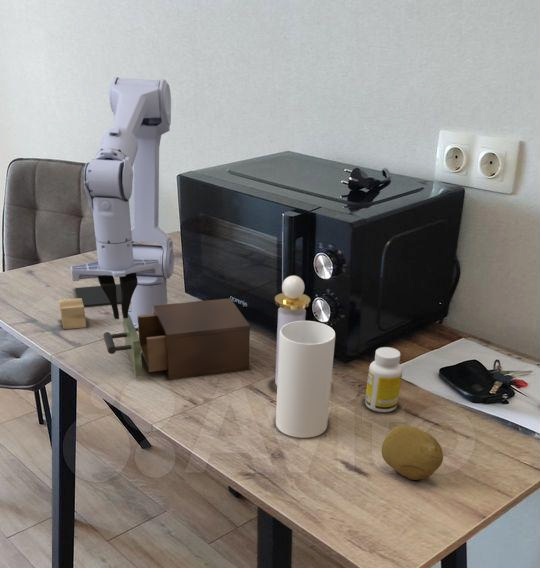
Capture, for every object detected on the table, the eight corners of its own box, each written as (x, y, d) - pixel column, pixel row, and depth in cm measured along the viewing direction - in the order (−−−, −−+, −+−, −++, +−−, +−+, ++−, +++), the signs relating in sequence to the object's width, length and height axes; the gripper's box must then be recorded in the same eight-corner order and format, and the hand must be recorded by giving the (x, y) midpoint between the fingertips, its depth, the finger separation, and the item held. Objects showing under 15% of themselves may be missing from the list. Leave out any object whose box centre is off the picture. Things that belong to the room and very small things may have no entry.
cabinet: (169, 379, 123) (167, 334, 118) (155, 348, 133) (153, 305, 128) (249, 369, 127) (250, 325, 122) (230, 339, 137) (230, 298, 132)
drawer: (112, 380, 120) (108, 344, 116) (103, 350, 129) (100, 316, 125) (211, 367, 125) (211, 333, 121) (196, 340, 134) (195, 307, 130)
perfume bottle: (311, 389, 122) (319, 278, 111) (283, 397, 119) (289, 285, 108) (291, 375, 125) (297, 267, 114) (264, 383, 123) (268, 273, 112)
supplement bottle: (403, 405, 118) (411, 352, 113) (384, 416, 115) (392, 363, 109) (377, 393, 121) (384, 341, 116) (358, 404, 118) (364, 352, 112)
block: (61, 320, 142) (58, 300, 139) (84, 318, 143) (81, 297, 140) (63, 329, 138) (60, 308, 136) (86, 327, 139) (83, 306, 137)
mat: (75, 289, 155) (75, 288, 155) (121, 285, 158) (121, 284, 158) (80, 307, 147) (79, 305, 147) (128, 302, 150) (127, 301, 150)
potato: (376, 461, 104) (383, 415, 100) (426, 460, 105) (435, 415, 100) (386, 490, 98) (393, 443, 94) (439, 489, 99) (449, 442, 95)
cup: (300, 404, 117) (306, 316, 108) (337, 424, 112) (347, 333, 103) (264, 422, 112) (268, 330, 103) (302, 444, 107) (309, 349, 98)
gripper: (69, 249, 108) (79, 330, 115) (163, 242, 112) (167, 321, 119) (65, 235, 113) (75, 313, 121) (155, 229, 117) (159, 305, 125)
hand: (120, 316), depth 120 cm, fingers closed
